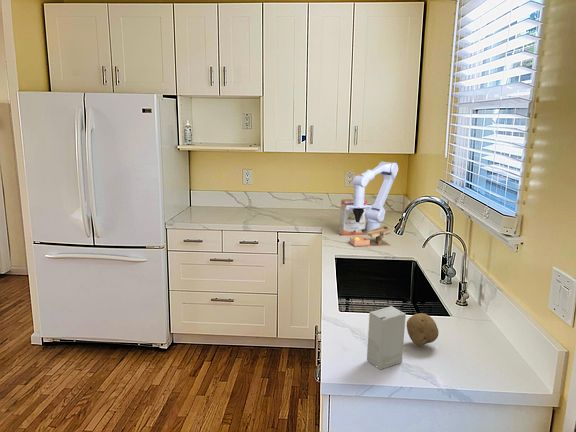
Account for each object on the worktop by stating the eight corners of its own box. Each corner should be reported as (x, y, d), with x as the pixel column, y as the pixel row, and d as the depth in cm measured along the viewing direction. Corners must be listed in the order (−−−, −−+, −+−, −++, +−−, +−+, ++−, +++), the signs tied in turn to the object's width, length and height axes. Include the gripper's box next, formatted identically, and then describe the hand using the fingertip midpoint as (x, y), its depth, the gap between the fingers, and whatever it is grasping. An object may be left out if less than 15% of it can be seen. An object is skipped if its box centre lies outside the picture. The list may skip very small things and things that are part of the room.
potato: (431, 339, 143) (434, 308, 141) (441, 353, 134) (444, 320, 132) (401, 338, 143) (404, 308, 141) (410, 353, 134) (413, 320, 132)
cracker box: (343, 236, 267) (345, 200, 263) (338, 234, 273) (340, 199, 268) (365, 235, 272) (367, 200, 267) (360, 233, 277) (362, 198, 273)
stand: (347, 244, 251) (348, 229, 249) (384, 242, 256) (385, 228, 254) (353, 248, 243) (354, 233, 241) (391, 247, 247) (392, 232, 246)
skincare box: (388, 354, 133) (391, 305, 130) (403, 363, 128) (407, 312, 125) (365, 361, 129) (368, 310, 126) (379, 371, 124) (383, 318, 121)
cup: (349, 242, 250) (349, 237, 249) (364, 242, 252) (364, 237, 251) (354, 246, 243) (354, 240, 243) (369, 245, 245) (369, 240, 245)
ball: (361, 241, 248) (355, 245, 248) (357, 236, 249) (352, 239, 249) (361, 240, 245) (355, 244, 245) (357, 235, 246) (351, 238, 246)
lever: (361, 234, 258) (360, 228, 257) (380, 228, 260) (378, 221, 259) (371, 240, 246) (369, 233, 245) (390, 233, 247) (389, 227, 246)
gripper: (349, 198, 250) (347, 223, 252) (374, 198, 253) (372, 223, 256) (344, 196, 256) (343, 221, 259) (369, 196, 260) (367, 220, 262)
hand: (357, 222), depth 258 cm, fingers closed
